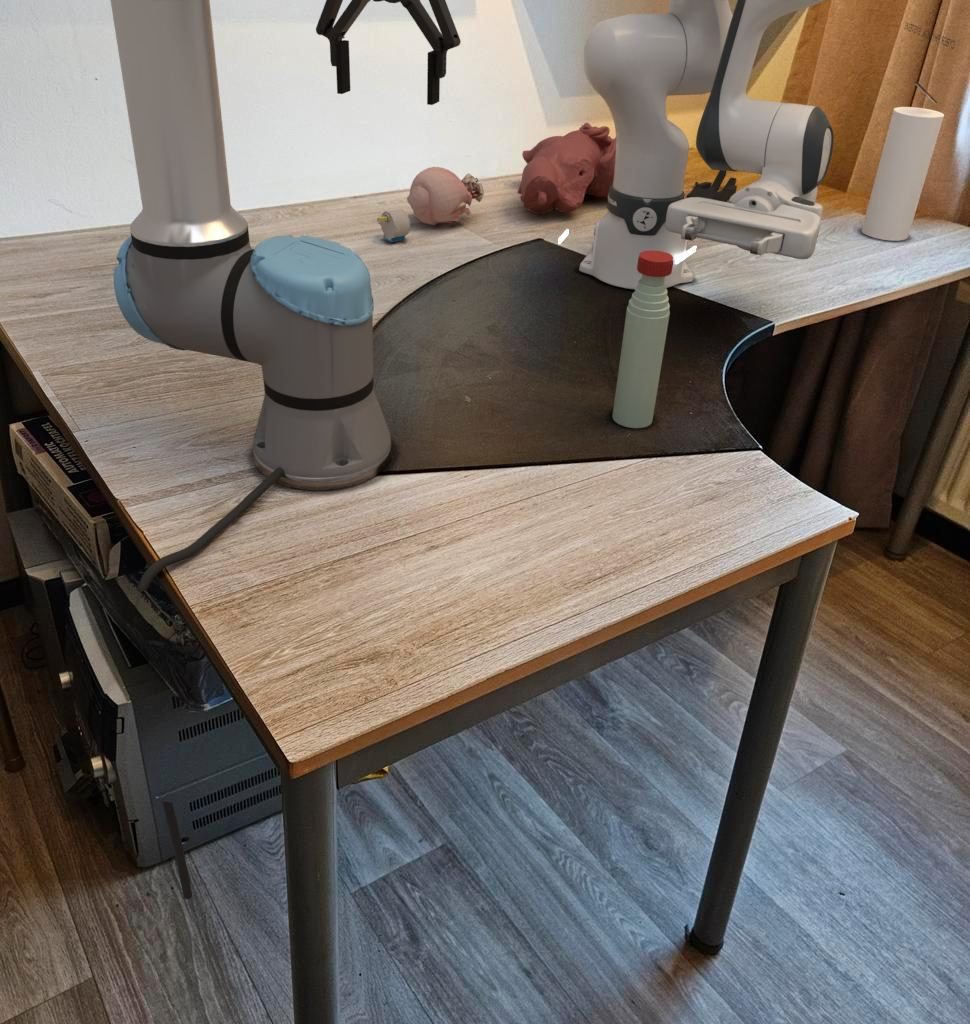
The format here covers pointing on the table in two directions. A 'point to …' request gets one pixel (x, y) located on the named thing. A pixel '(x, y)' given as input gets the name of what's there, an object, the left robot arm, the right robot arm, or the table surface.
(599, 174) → the red pig head
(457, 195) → the toy
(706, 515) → the table surface
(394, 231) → the electric motor
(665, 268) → the cap
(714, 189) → the black piece
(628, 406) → the bottle
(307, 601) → the table surface
